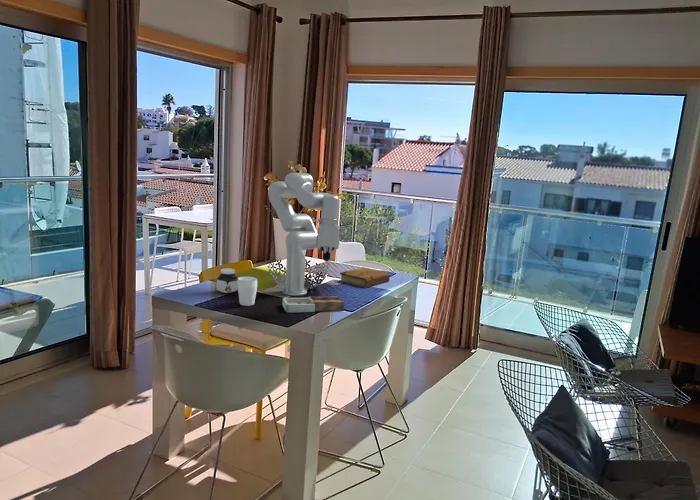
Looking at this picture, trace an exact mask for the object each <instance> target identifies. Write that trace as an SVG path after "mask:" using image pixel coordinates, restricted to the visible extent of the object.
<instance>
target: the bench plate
mask: <svg viewBox="0 0 700 500" xmlns="http://www.w3.org/2000/svg"><path fill="white" fill-rule="evenodd" d="M309 297H310V298H311V299H312V300H313V302H314V304H315V312H330V311H331V312H334V311H340V310H341V311H344V310H345V308H344V307H345V305H344V304H345V301H343V300H342V301H341V299H340V296H338V295H337V296H333V295H332V296H309Z"/></svg>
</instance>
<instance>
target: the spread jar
mask: <svg viewBox="0 0 700 500" xmlns="http://www.w3.org/2000/svg"><path fill="white" fill-rule="evenodd" d="M238 278H239V277H238V275H237V274H236V270H235V268H232V267H231V268H230V267H229V268H227V267H225V268H221V269H220V274H218V276H217V278H216V289H217V292H218V293H220V294H221V295H226V294H229V295H234V294H235V293H236V292H238Z"/></svg>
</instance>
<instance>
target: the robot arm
mask: <svg viewBox="0 0 700 500" xmlns="http://www.w3.org/2000/svg"><path fill="white" fill-rule="evenodd" d="M313 190H314V179H313V176H312V175H311V174H310V173H307V172H290V173H288V174H287V175H285V178H284V181H282V180H279V181H274V182H272V183H270V185H269V187H268V190H267V192H268V193H267V194H268V199H269V202H270V203H271V206H272V207H273V209H274V211H275V212H276V214H277V218H278V219H279V222H280V225H281V227H282V229H283V231H284V232H285V233H287V234H286V236H285V250H286V268H285V282H283V284H275V288H276V289H279V290H281V291H282V293H283V294H284V295H288V296H296V297H297V296H304V295H306V294H307V293H308V291H307V289H306V288H305V277H306V276H305V275H306V257H305V255H304V252H303V251H305V250H307V251H308V250H314V249H315V250H316V249H318V250H321V251H322V259H323V261H324V262H327V263H328V262H330V261H329V260H331V254H332V252H333V251H334V250H337V249H339V248H340V247H339V246H340V227H339V225H338V220H339V219H338V216H339V206H340V205H339V202H340V198H339V196H338V195H335V194H331V193H329V192H313ZM286 198H287V199H291V198H292V199H296V200H297V202H298V203H299V204H300V205H302V206H303V207H304V208H305V209H309V210H318V209H320V210H321V217H320V218H318V219H317V222H318V223H320V224H318V229H316V227H315V224H314V222H313V220H312V217H311V216H310V215H308V214H306V213H296V212H295V211H294V209H293V206H292V205H291V204H290V202H289V201H287V199H286Z"/></svg>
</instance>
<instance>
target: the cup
mask: <svg viewBox="0 0 700 500" xmlns="http://www.w3.org/2000/svg"><path fill="white" fill-rule="evenodd" d="M257 289H258V278H257V277H254V276H240V277H238V290H237V293H238V300H239V304H240V305H241V306H243V307H244V306H245V307H251V306H253V305H255V300H256V297H257Z"/></svg>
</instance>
